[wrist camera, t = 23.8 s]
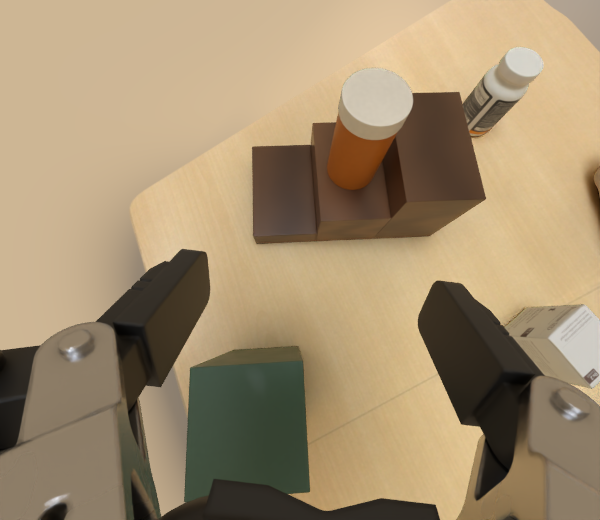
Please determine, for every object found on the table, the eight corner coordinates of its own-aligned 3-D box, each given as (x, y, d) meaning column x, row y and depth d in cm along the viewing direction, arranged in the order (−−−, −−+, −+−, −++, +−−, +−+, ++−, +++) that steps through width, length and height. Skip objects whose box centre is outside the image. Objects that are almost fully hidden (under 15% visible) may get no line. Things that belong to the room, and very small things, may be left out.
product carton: (524, 306, 34) (585, 301, 27) (560, 346, 33) (633, 351, 26) (492, 335, 33) (547, 337, 26) (528, 376, 32) (595, 391, 25)
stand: (232, 422, 30) (183, 503, 16) (233, 349, 32) (189, 367, 18) (302, 418, 30) (310, 492, 17) (298, 346, 32) (302, 360, 19)
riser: (256, 243, 35) (240, 208, 25) (255, 159, 39) (240, 96, 28) (429, 236, 36) (486, 198, 26) (414, 155, 39) (459, 91, 29)
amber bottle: (328, 191, 30) (345, 127, 20) (324, 148, 31) (338, 67, 22) (378, 190, 30) (419, 125, 20) (372, 146, 31) (407, 66, 22)
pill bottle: (493, 116, 42) (553, 53, 32) (482, 143, 40) (542, 86, 31) (459, 102, 42) (509, 36, 33) (448, 128, 41) (496, 68, 31)
